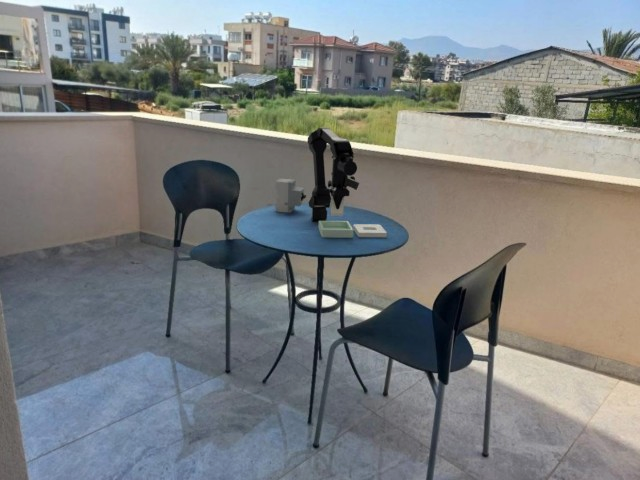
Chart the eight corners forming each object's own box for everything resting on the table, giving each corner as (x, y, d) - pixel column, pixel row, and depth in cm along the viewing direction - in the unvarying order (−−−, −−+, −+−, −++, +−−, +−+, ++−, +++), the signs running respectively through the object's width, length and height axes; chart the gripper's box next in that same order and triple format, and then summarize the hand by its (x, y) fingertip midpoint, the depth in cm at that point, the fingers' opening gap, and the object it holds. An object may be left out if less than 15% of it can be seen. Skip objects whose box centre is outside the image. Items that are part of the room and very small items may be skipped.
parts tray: (322, 237, 182) (322, 229, 181) (318, 227, 194) (318, 220, 193) (352, 237, 184) (353, 230, 182) (347, 228, 196) (347, 221, 195)
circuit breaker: (303, 214, 215) (304, 183, 210) (274, 211, 217) (275, 181, 212) (306, 210, 222) (307, 180, 217) (279, 207, 224) (279, 178, 219)
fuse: (331, 215, 185) (332, 197, 182) (330, 213, 187) (331, 195, 185) (343, 215, 185) (344, 197, 183) (341, 214, 188) (342, 195, 186)
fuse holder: (358, 237, 184) (358, 232, 184) (353, 228, 196) (353, 224, 195) (386, 237, 186) (386, 232, 185) (379, 228, 197) (379, 224, 196)
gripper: (363, 175, 173) (360, 214, 178) (354, 167, 190) (351, 202, 195) (335, 175, 171) (333, 214, 176) (328, 166, 189) (326, 202, 194)
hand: (337, 208), depth 185 cm, fingers closed on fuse, 3 cm apart
